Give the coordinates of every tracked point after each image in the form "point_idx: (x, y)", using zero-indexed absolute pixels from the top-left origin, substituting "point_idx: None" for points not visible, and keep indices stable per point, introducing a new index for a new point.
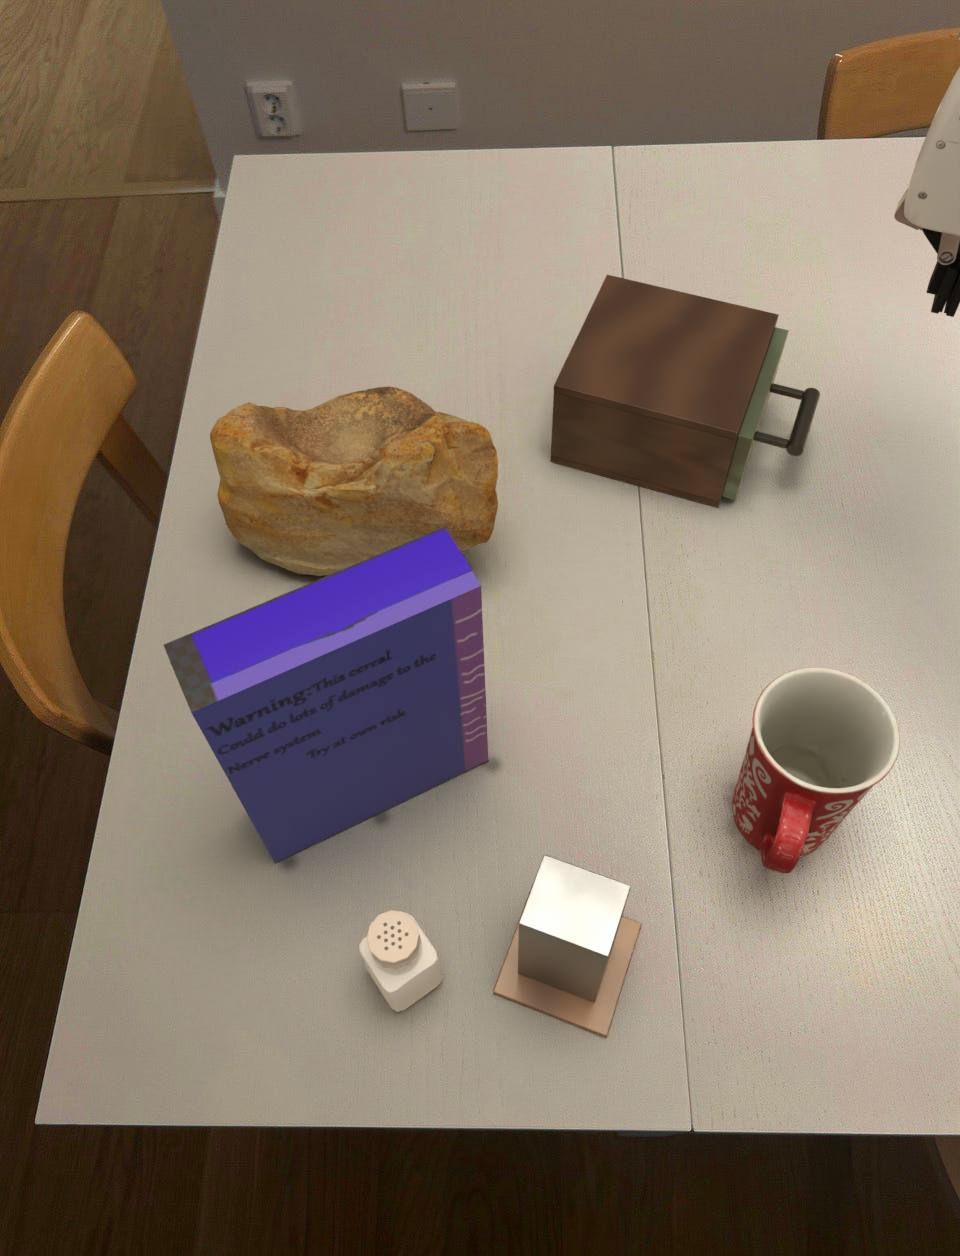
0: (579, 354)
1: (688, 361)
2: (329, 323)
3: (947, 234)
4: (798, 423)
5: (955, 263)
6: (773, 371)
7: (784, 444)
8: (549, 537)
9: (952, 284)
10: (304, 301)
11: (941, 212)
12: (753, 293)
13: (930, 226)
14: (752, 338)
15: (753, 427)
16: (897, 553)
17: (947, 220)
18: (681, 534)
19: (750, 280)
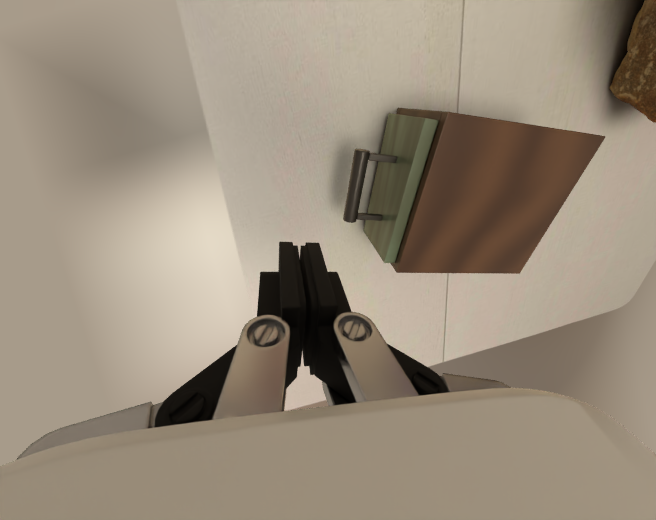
0: (568, 183)
1: (478, 200)
2: (625, 214)
3: (396, 385)
4: (362, 179)
5: (322, 323)
6: (398, 215)
7: (372, 153)
8: (537, 32)
9: (310, 281)
10: (633, 227)
11: (587, 504)
12: (372, 306)
13: (526, 404)
14: (419, 242)
15: (422, 136)
16: (245, 90)
17: (518, 462)
18: (428, 66)
19: (374, 314)
